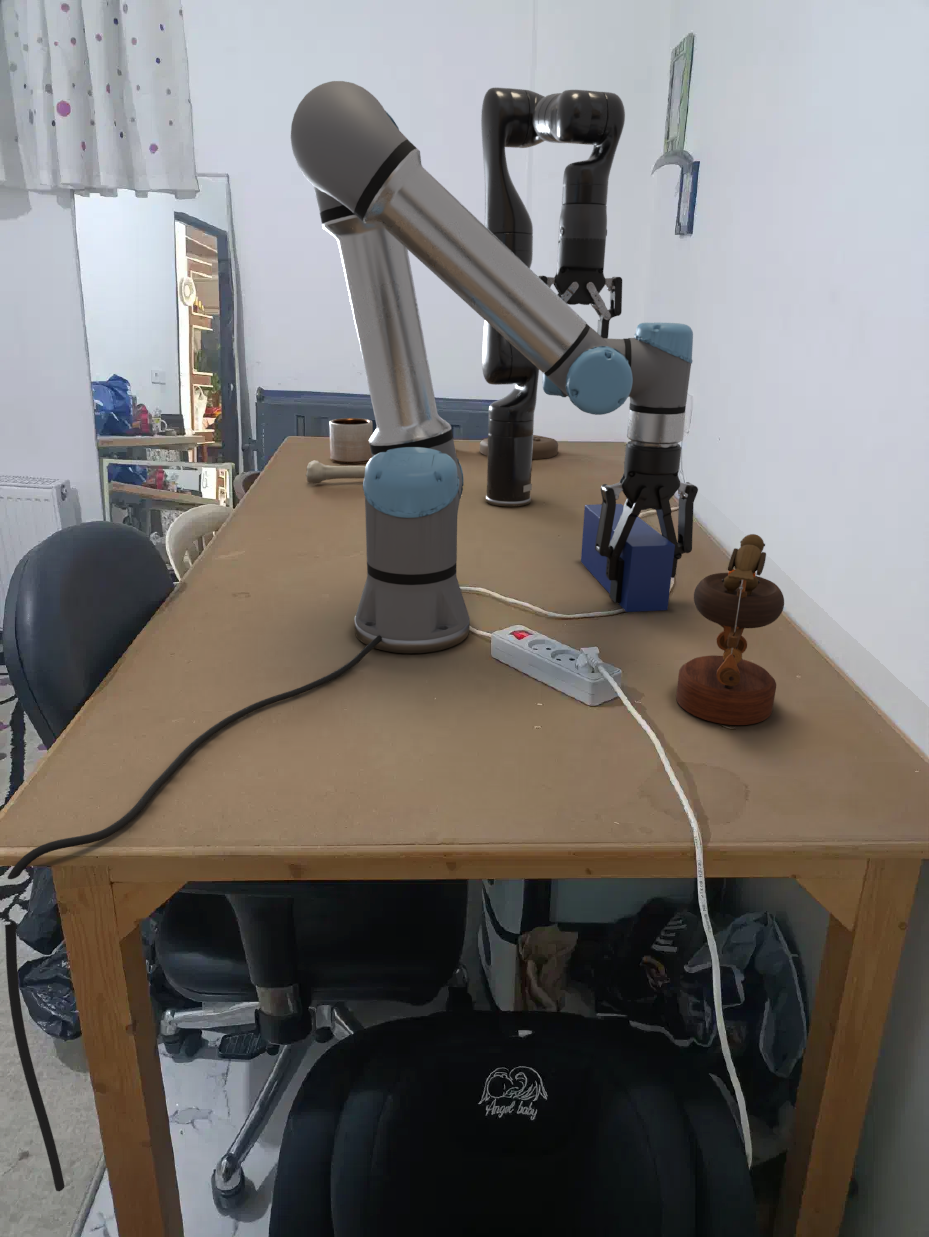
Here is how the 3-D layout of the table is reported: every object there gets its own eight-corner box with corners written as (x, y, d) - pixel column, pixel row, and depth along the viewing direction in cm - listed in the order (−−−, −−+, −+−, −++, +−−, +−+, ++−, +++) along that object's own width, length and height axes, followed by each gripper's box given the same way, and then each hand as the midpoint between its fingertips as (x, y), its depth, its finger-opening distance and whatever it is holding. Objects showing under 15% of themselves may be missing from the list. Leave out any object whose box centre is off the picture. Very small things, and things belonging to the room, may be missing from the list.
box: (667, 610, 122) (675, 545, 118) (626, 612, 121) (632, 546, 117) (616, 560, 143) (621, 503, 139) (580, 561, 142) (584, 504, 138)
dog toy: (395, 478, 195) (394, 456, 193) (397, 484, 190) (397, 462, 188) (306, 480, 192) (305, 458, 190) (306, 486, 187) (305, 464, 185)
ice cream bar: (484, 468, 207) (485, 451, 205) (477, 446, 232) (478, 431, 231) (570, 469, 208) (571, 452, 206) (554, 447, 233) (554, 431, 232)
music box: (791, 736, 88) (807, 553, 81) (683, 736, 90) (689, 557, 82) (760, 672, 102) (771, 512, 95) (667, 673, 104) (671, 515, 96)
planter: (327, 456, 217) (325, 418, 214) (369, 454, 220) (368, 417, 217) (334, 465, 208) (332, 425, 204) (377, 463, 211) (376, 424, 207)
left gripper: (709, 436, 121) (690, 587, 129) (577, 438, 118) (567, 592, 127) (732, 446, 114) (711, 605, 123) (594, 448, 111) (582, 611, 120)
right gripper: (617, 238, 139) (609, 342, 145) (533, 236, 137) (528, 341, 143) (633, 237, 132) (623, 345, 138) (544, 235, 130) (539, 345, 136)
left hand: (638, 598), depth 125 cm, fingers open, 6 cm apart
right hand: (575, 343), depth 141 cm, fingers open, 8 cm apart
